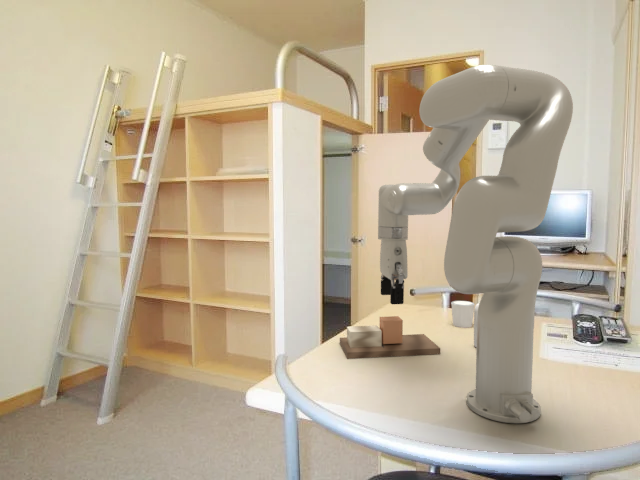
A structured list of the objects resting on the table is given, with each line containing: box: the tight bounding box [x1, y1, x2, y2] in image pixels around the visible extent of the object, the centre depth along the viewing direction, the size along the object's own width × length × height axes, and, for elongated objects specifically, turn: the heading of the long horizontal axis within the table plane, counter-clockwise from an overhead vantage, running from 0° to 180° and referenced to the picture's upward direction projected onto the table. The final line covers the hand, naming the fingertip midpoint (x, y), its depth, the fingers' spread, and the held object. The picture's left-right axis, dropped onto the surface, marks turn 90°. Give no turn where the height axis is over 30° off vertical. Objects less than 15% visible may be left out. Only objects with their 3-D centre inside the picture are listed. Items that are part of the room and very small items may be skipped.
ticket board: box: [339, 324, 441, 360], centre depth 115 cm, size 24×12×6 cm, turn 96°
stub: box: [379, 315, 404, 344], centre depth 115 cm, size 5×4×6 cm
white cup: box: [450, 300, 476, 329], centre depth 136 cm, size 7×7×7 cm
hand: (391, 299), depth 115 cm, fingers open, 9 cm apart
